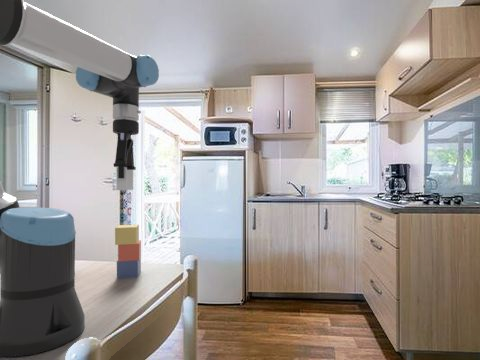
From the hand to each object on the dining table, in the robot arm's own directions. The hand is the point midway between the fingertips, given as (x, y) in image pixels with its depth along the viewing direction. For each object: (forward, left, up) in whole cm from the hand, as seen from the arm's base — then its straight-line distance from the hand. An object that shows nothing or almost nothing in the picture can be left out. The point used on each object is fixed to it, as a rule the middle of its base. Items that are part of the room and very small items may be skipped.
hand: (125, 190), depth 97 cm
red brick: (+1, -1, -21) cm, 21 cm away
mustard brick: (+1, 0, -16) cm, 16 cm away
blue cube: (+1, -1, -26) cm, 26 cm away
